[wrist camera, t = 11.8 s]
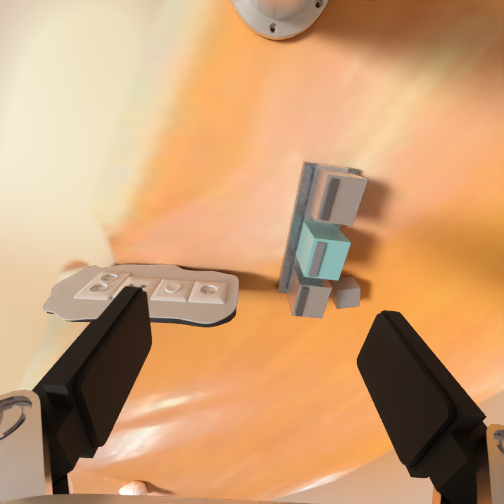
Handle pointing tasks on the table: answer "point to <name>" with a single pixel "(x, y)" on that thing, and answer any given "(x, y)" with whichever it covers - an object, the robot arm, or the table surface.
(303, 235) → the module
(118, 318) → the robot arm
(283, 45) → the table surface
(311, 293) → the board
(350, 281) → the block
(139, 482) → the white creature statuette
